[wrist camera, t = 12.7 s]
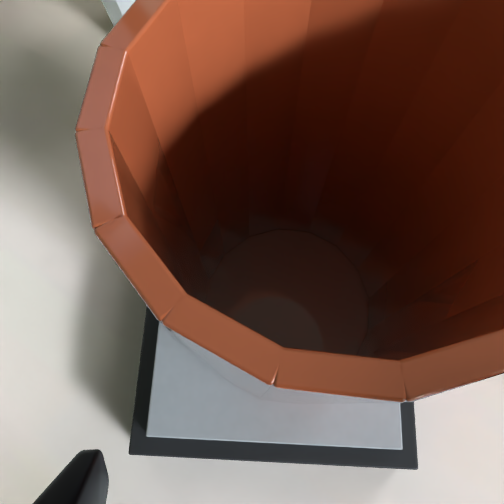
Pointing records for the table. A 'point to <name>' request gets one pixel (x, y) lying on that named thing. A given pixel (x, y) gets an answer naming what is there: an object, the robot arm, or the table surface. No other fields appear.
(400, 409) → the scale
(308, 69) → the cup
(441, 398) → the table surface
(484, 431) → the table surface
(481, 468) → the table surface
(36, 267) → the table surface
